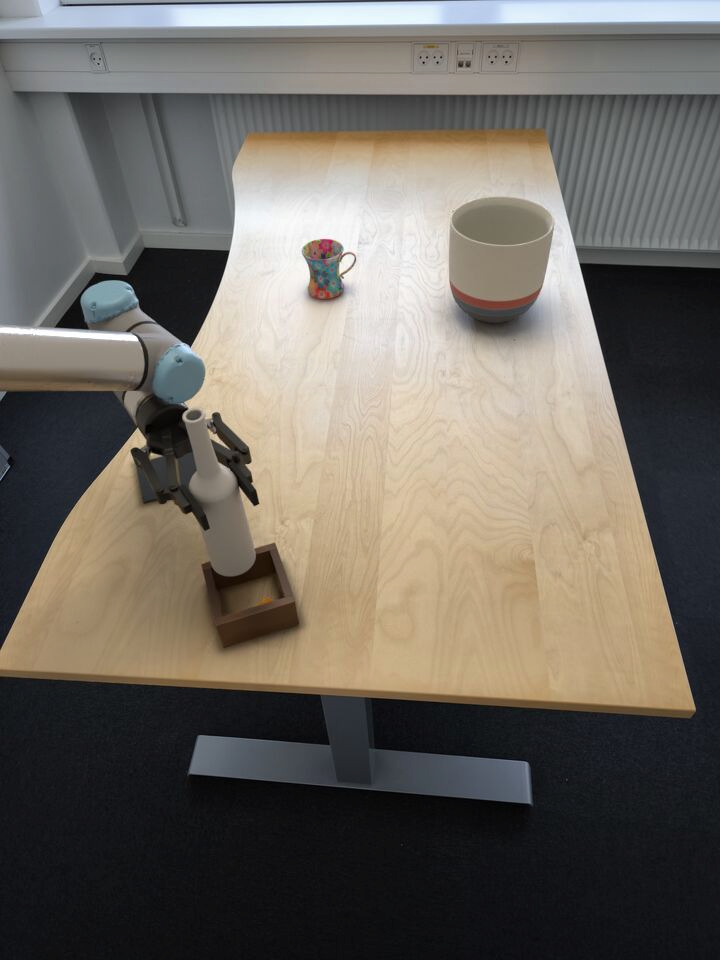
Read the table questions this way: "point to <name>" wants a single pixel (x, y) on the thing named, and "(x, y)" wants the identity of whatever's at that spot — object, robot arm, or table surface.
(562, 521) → the table surface
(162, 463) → the mat
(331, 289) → the mug
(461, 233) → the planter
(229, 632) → the holder
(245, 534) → the bottle
